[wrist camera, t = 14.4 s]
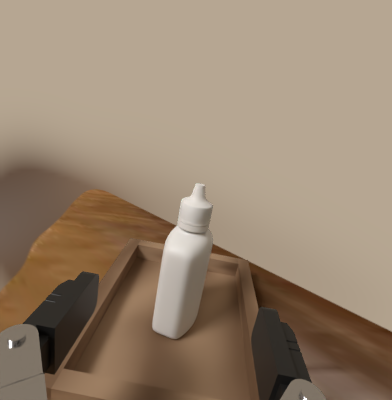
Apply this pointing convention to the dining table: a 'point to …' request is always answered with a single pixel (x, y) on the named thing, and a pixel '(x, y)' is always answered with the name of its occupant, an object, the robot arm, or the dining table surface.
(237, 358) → the walnut tray
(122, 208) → the dining table surface
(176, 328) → the eye dropper bottle
